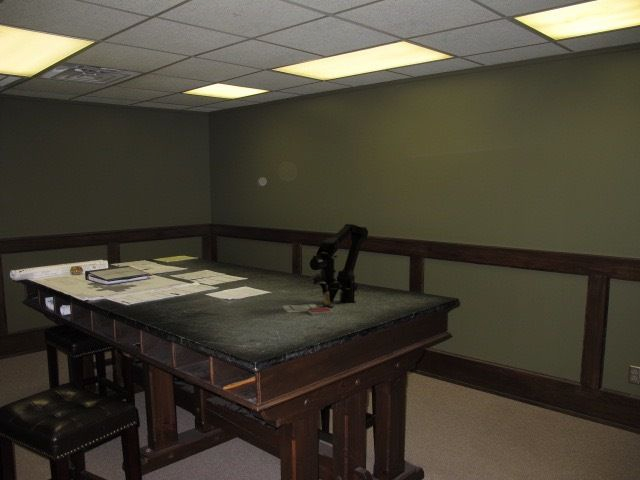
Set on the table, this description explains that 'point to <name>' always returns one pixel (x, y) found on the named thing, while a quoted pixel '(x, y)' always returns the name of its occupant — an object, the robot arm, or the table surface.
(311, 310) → the ink pad
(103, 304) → the table surface
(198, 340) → the table surface
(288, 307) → the paper
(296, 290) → the table surface
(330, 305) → the stamp
